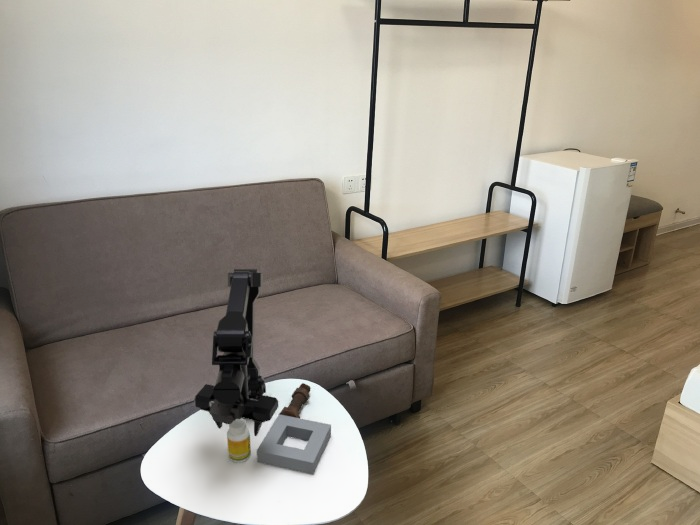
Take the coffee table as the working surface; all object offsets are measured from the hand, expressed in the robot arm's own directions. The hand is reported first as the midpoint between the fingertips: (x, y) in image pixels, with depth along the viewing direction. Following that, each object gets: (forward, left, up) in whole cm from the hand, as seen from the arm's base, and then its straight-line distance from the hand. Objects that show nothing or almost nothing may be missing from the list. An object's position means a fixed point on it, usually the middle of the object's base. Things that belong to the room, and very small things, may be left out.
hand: (238, 431), depth 136 cm
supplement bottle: (0, 0, -7) cm, 7 cm away
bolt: (+7, +21, -8) cm, 23 cm away
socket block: (+12, +6, -7) cm, 15 cm away
